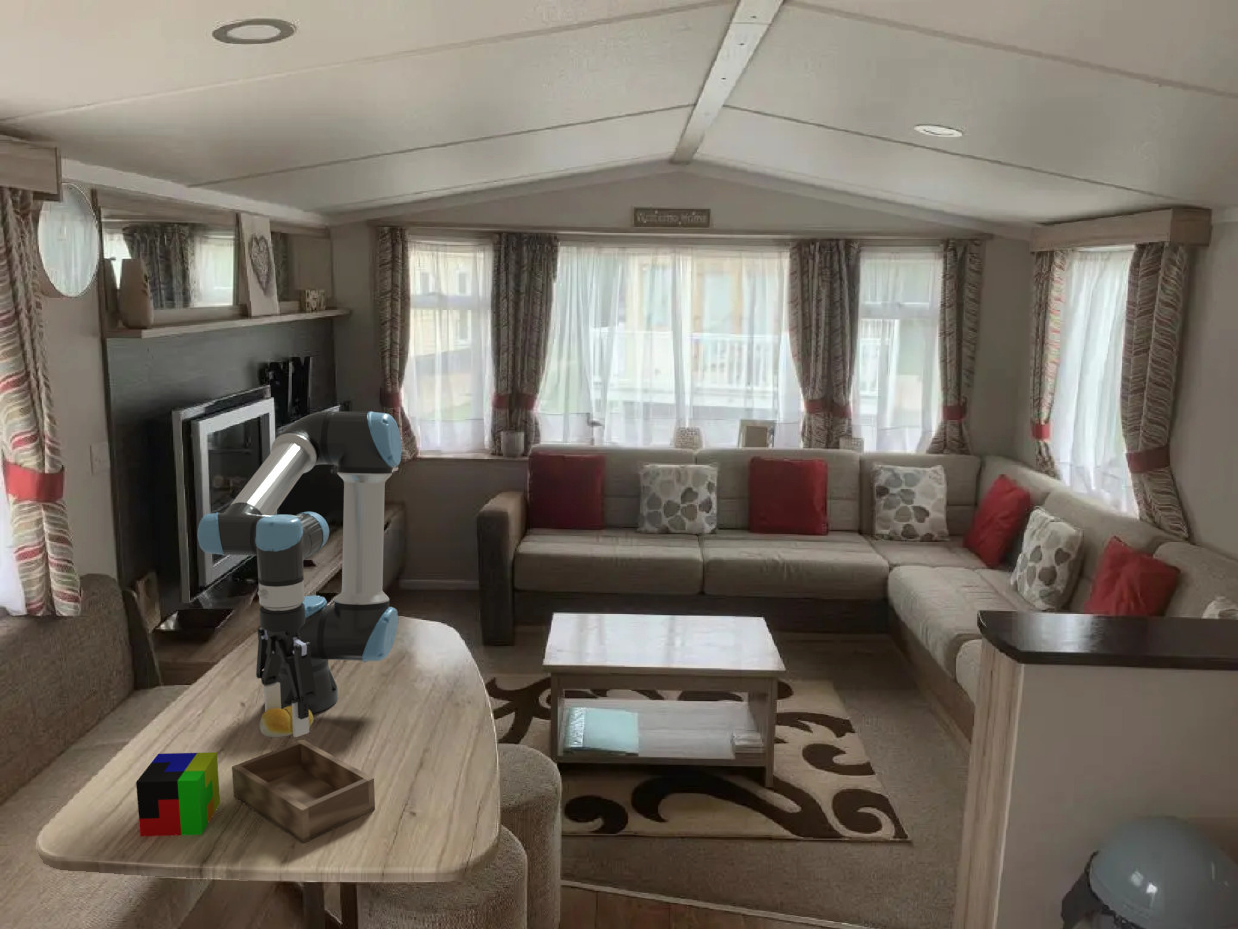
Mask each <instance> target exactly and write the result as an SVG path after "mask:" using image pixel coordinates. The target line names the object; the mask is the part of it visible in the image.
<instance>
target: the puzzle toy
mask: <svg viewBox="0 0 1238 929" xmlns="http://www.w3.org/2000/svg"><path fill="white" fill-rule="evenodd" d="M135 785H136V787H135V788H136V796H137V797H136V798H137V810H138V822H139V836H140V837H165V836H166V837H167V836H169V837H170V836H171V837H172V836H198V835H199V836H202V835H203V833H204V832H205V830H206V829H207V827H208V825H209V823H210V822H211V820H212V819H213V817H214V815H215V813H216V812H215V811H217V810H218V808H219V807H220V805H221V796H220V794H221V793H220V781H219V765H218V752H215V751H214V752H172V753H169V752H168V753H157V755H156V756H155V757H154V759H153V760H151V762H150V764H149V765H148V766H147V768H145V770H144V771H143V773H142V774H141V775H140V776H139V778H138V779H137V780H136V781H135ZM219 804H220V805H219ZM218 806H219V807H218ZM216 809H217V810H216ZM212 816H213V817H212Z"/></svg>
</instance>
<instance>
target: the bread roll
mask: <svg viewBox="0 0 1238 929" xmlns="http://www.w3.org/2000/svg"><path fill="white" fill-rule="evenodd" d="M313 723H314V716H313V713H311V711H310V710H309V728H310V727H311V726H312V725H313ZM258 726H259V730H260V732H261V733H262V734H263V736H265V737H267V738H269V737H270V738H271V737H272V738H281V737H287V736H291V735H293V720H292V706H288V707H285V708H283V709H280V708H273V709H269V710H267V711H266V712H265V711H264V712H263V713H262V715H261V718H260V722H259V725H258Z"/></svg>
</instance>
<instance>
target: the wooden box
mask: <svg viewBox="0 0 1238 929" xmlns="http://www.w3.org/2000/svg"><path fill="white" fill-rule="evenodd" d="M231 773H232V790H233V791H232V792H233V798H234V797H235V798H234V799H236V800H237V801H238V802H240V803H242V804H243V803H244V804H243V805H244V806H246V807H248V808H249V809H251V810H252V809H253V810H252V811H254V812H255V813H257V814H258V815H260V816H262V817H263V818H265V819H266V820H267V821H269V822H271V823H272V824H274V825H275V826H276V827H278V828H280V829H281V830H283V831H284V832H285V833H287V834H288V835H290V836H292V837H294V839H296V840H297V841H299V842H301V843H302V844H305V843H307V842H310V841H311V840H315V838H317V837H320V836H322V835H324V834H327V833H329V832H330V831H333V830H335V829H336V828H339V827H341V826H344V825H345V824H347V823H349V822H351V821H353V820H355V819H357V818H360V817H362V816H364V815H366V814H368V813H370V812H372V811H375V810H376V802H375V801H376V800H375V798H376V797H375V795H376V794H375V793H376V792H375V778H374V777H372V776H371V775H369V774H367V773H365V772H364V771H362V770H361V769H357V768H356V767H355V766H352V765H351V764H349V763H347V762H345V761H343V760H341V759H340V758H338V757H336V756H334V755H332V754H330V753H329V752H327V751H325V750H324V749H321V748H319V747H317V746H316V745H314V744H312V743H310V742H309V741H306V740H305V739H300V740H298V741H295V742H292V743H289V744H287V745H285V746H281V747H278V748H277V749H274V750H271V751H269V752H266V753H264V754H261V755H258V756H256V757H253V758H250V759H248V760H245V761H243V762H240V763H237V764H235V765H233V766H231Z"/></svg>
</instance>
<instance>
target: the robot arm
mask: <svg viewBox="0 0 1238 929" xmlns="http://www.w3.org/2000/svg"><path fill="white" fill-rule="evenodd" d="M401 437H402V436H401V432H400V429H399V425H398V424H397V421H396V419H394V417H393V416H392V415H391V414H389V413H385V412H378V411H377V412H375V411H372V410H371V411H335V410H334V411H332V410H322V411H317V412H313V413H311V414H308V415H306V416H304V417H302V418H299V419H298V420H295V421H294V422H292V423H291V424H290V425H288V426H287V427H286V428H284V429H283V430H282V431H281V432H280V433H279V435H278V436H277V437H276V438H275V439H274V440H273V442H272V444H271V448H270V452H271V453H269V455H268V456H267V457H266V459H265V460H264V461H263V462H262V464H261V465H260V466H259V468H258V469H257V470H256V472H255V473H254V474H253V475H252V477H251V478H250V480H248V482H247V483H245V486H244V487H243V489H242V490H241V491H240V492H239V493H238V495H237V496H236V497H235V498H234V499H233V501H232V502H231V504H230V505H229V506H228V507H227V509H226V510H225V511H224V512H223V513H220V512H215V513H207V514H204V515H203V516H202V517H201V519H200V520H199V522H198V523H199V524H198V528H197V540H198V546H199V547H200V549H201V550H202V551H203V552H204V553H206V554H211V555H221V556H254V557H255V556H256V560H257V575H258V576H257V577H258V578H257V580H258V591H257V595H258V597H259V600H258V601H259V605H260V608H259V626H260V627H259V628H257V638H258V639H257V640H258V645H257V655H256V656H257V657H256V671H255V676H256V678H257V680H258V679H261V684H262V685H263V691H264V693H263V694H264V713H265V712H266V711H267V710H269V709H273V708H280V709H283V708H285V707H288V706H292V720H293V734H292V736H293V737H294V738H298V737H300V736H303V735H306V734H309V733H310V727H309V710H310V711H311V713H312V714H316V713H319V712H323V711H325V710H327V709H329V708H330V707H333V706H334V705H335V704H336V703H337V702H338V699H339V691H338V685H337V683H336V681H335V677H334V675H333V673H332V671H331V668H330V666H329V663H330V662H329V660H330V661H331V660H333V661H335V660H336V661H338V660H339V661H358V662H363V663H367V662H380V661H383V660H385V659H386V658H387V657H388V656H389V654H390V653H391V650H392V648H393V646H394V644H395V640H396V636H397V633H398V632H397V631H398V626H399V625H398V624H399V616H398V614H399V613H398V610H397V609H396V608H395V607H392V606H390V598H389V596H388V595H387V594H386V593H385V592H384V591H383V582H384V581H383V580H384V576H383V575H384V573H383V572H384V540H385V539H384V537H385V536H384V533H385V532H384V529H385V528H384V527H385V494H386V493H385V491H386V490H385V488H386V487H385V486H386V485H385V484H386V482H387V480H388V479H390V478H391V476H392V475H393V468H395V467H398V466H399V465H400V463H401V460H402V454H403V449H402V447H403V446H402V438H401ZM318 465H333V466H334V465H335V466H337V467H336V468H337V469H336V474H337V475H338V476H339V477H340V478H341V479H342V480H343V487H344V488H343V519H342V520H343V524H342V525H343V526H342V527H343V528H342V529H343V531H342V568H341V569H342V570H341V571H342V572H341V578H342V580H341V582H342V583H341V592H340V593H339V594H338V595H337V596H336V597H335V598H334V605H328V601H327V599H326V598H325V597H324V596H321V595H305V579H304V578H305V576H304V560H306V559H307V558H309V557H311V555H314V554H316V553H318V552H319V551H320V550H321V549H322V547H323V546H325V544H326V543H327V542H328V539H329V536H330V528H329V525H328V522H327V521H326V519H325V517H323V516H322V515H320V513H317V512H314V511H304V512H300V513H297V514H295V515H293V514H275V513H276V512H277V511H278V510H279V507H280V506H281V505H282V503H284V501H285V499H286V498H287V497H288V495H289V493H290V492H291V491H292V489H293V488H294V486H295V485H296V484H297V482H298V481H299V480H300V478H301V476H302V475H303V474H306V473H308V472H310V471H311V470H312V469H313V468H314V467H315V466H318Z"/></svg>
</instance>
